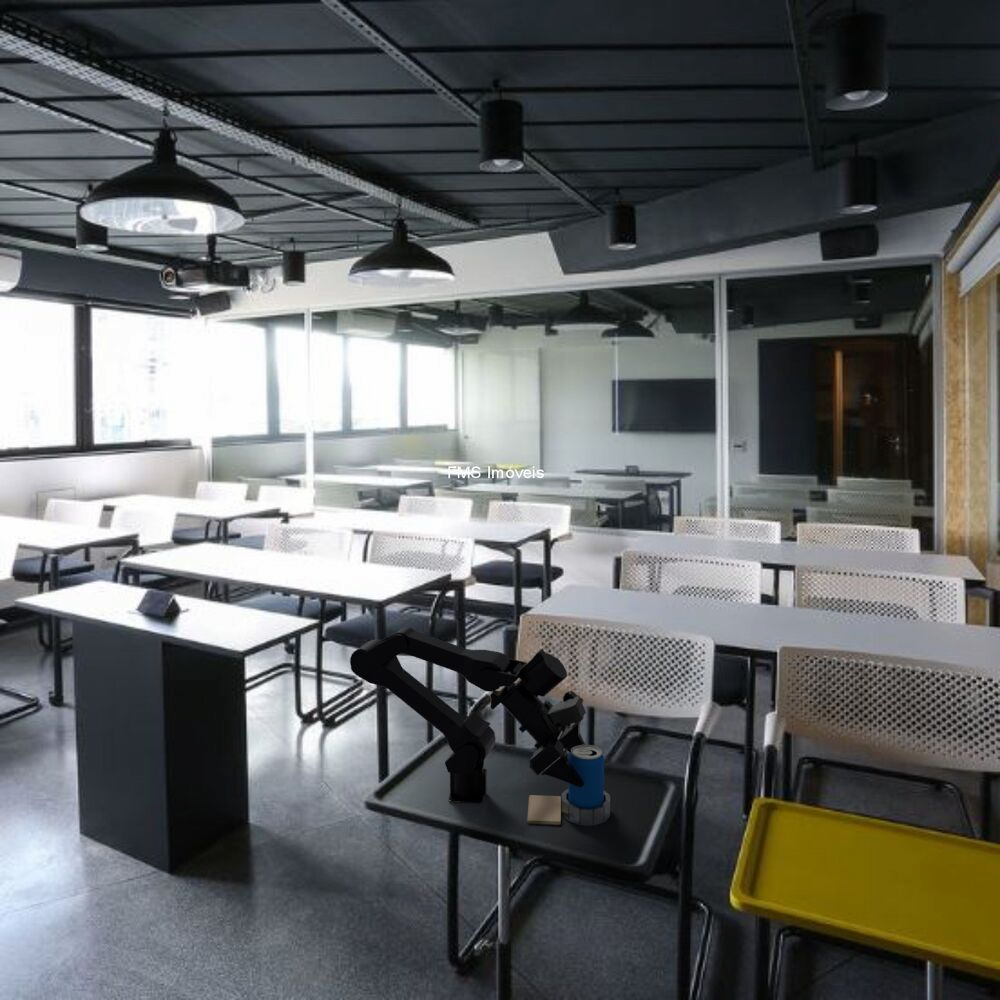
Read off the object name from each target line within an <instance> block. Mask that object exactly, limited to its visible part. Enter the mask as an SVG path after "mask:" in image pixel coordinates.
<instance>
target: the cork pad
mask: <svg viewBox="0 0 1000 1000" xmlns="http://www.w3.org/2000/svg"><path fill="white" fill-rule="evenodd" d="M527 808H528V809H527V819H526V822H527V823H526V824H530V825H531V824H535V825H559V826H560V825H562V823H561V821H562V795H561V796H560V795H535V794H534V795H531V794H530V795H529V796H528V807H527Z"/></svg>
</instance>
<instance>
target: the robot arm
mask: <svg viewBox="0 0 1000 1000" xmlns="http://www.w3.org/2000/svg"><path fill="white" fill-rule="evenodd" d="M400 654H405V655H408V656H411V657H413V658H416V659H419V660H422V661H424V662H427V663H430V664H433V665H436V666H439V667H440V668H441V667H442V668H444V669H447V670H450V671H453V672H455V673H458V674H460V675H461V676H462V677H464V679H465V680H466V681H467V682H468V683H470V684H471V685H473V686H475V687H477V688H479V689H480V690H482V691H484V692H489V693H490V692H491V693H490V705H489V706H490V709H491V710H495V708H497V707H498V706H499V705H500V704H501V705H502V706H503V707H504V709H506V710H507V712H508V713H510V715H511V716H512V717H513V718H514V719H515V720H516V721H517V723H518V724H520V726H519V728H518V730H519V731H520V732H521V733H522V734H523V733H524V732H525V731H526V732H527V733H528V734H529V736H530V737H532V739H533V740H534V741H535V744H534V747H535V748H536V750H535V751H534V752H533V754H532V756H531V758H530V760H529V769H530V770H532V772H533V773H534V774H535V775H536V776H539V775H541V776H549V777H552V778H555V779H558V780H559V781H563V782H566V783H567V784H568V783H570V784H572V785H575V786H577V787H580V788H581V787H582V786H583V785H584V784H585V783H584V781H583V780H582V778H581V777H580V775H579V774H578V773H577V771H576V770H575V769H574V767H573V766H572V765H571V763H570V762H569V756H568V752H569V754H570V753H571V749H572V748H573V747H575V746H578V745H586V743H585V741H584V738H583V737H582V735H581V723H582V722H583V720H584V716H585V715H586V713H587V711H586V709H585V706H584V704H583V703H584V699H583V698H582V697H581V696H580V695H579V694H577V693H575V692H574V691H573V690H568V691H566V692H564V694H563V695H562V700H561V701H559V702H558V703H557V704H554V705H553V704H552V703H551V702H550V701H548V700H545V701H544V702H543V701H542V700H541V699H540V698H539V696H540V697H546V696H547V695H548V694H549V693H550V692H551V691H553V690H554V689H555V688H556V687H557V686H558V685H560V684H561V683H562V682H563V681H564V680H566V678H567V677H568V672H567V670H566V667H565V666H564V664H563V663H562V661H561V660H560V659H559V658H558V657H555V656H554V655H552V654H550V653H547V652H545V651H544V649H543V648H541V649H539V650H538V651H537V652H536V653H535V655H533V657H532V658H531V659H530V660H529V661H523V660H519V659H515V658H510V657H509V656H507V655H506V654H504V653H502V652H500V651H496V650H495V651H494V650H490V649H470V648H466V647H462V646H460V645H457V644H454V643H451V642H448V641H444V640H443V639H440V638H437V637H433V636H431V635H428V634H425V633H422V632H419V631H417V630H415V629H413V628H412V627H408V626H405V627H402V628H401V629H399V630H398V631H396V632H395V633H393V634H391V635H390V634H389V635H388V636H386V637H385V638H383V639H379V638H378V639H370V640H369V641H367V642H365V644H363V645H361V646H360V647H359V648H357V649H356V650H354V651H353V652H352V653H351V656H350V658H349V663H350V670H351V672H352V673H353V675H355V676H357V677H359V678H360V679H362V680H364V681H366V682H367V683H368V684H372V685H375V686H378V687H383V688H386V689H387V690H389V692H391V693H392V694H393V695H395V696H396V697H397V698H398V699H400V700H401V701H402V702H403V703H404V704H406V705H407V706H408V707H410V709H412V710H413V711H414V712H415V713H417V715H419V716H421V717H422V718H423V719H424V720H425V721H426V722H427V723H429V724H430V725H431V726H433V727H434V728H435V729H436V730H438V731H439V732H440V733H441V734H442V735H443V736H444V738H445V740H446V742H447V744H448V746H449V748H450V750H451V751H452V753H451V754H450V755H449V757H447V759H446V760H445V762H444V765H445V767H446V770H447V772H448V773H449V791H450V792H449V795H448V801H449V800H451V801H460V802H459V803H472V804H473V803H475V804H480V803H483V802H484V801H483V800H484V796H486V794H487V791H488V770H487V768H485V759H486V758H487V757H488V755H489V754H490V752H491V751H492V750H493V748H494V746H495V744H496V739H497V738H496V733H495V731H494V729H493V728H492V727H491V726H490V725H491V722H489V721H486V720H485V719H483V718H482V717H481V716H480V714H478V713H477V712H475V711H472V712H471V713H470V714H469V715H465V714H461V713H459V712H458V711H456V710H455V708H453V707H452V706H450V705H449V704H448V703H447V702H445V701H444V700H443V699H441V698H440V697H439V696H438V695H437V694H435V693H434V692H433V691H432V690H430V689H429V688H428V687H426V685H424V684H423V683H422V682H420V681H419V680H418V679H417V678H415V677H414V676H413V675H412V674H411V673H410V672H408V671H407V670H405V669H404V668H403V667H402V664H401V662H400V660H399V658H398V655H400ZM518 679H519V680H518ZM517 680H518V681H517ZM500 688H501V689H500ZM499 689H500V690H499Z"/></svg>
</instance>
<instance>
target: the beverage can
mask: <svg viewBox="0 0 1000 1000" xmlns="http://www.w3.org/2000/svg"><path fill="white" fill-rule="evenodd" d="M568 761H569V762H570V763H571V765H572V766H573V767H574V769H575V770H576V771H577V773H578V774H579V775H580V777H581V778H582V780H583V781H584V783H585V784H584V785H583V786H582V787H581V788H580V787H577V786H575V785H572V784H570V783H567V784H568V788H567V789H568V801H569V802H570V803H571V804H573V805H576V806H579V807H588V808H592V807H596V806H600V805H602V804H603V803H604V791H605V756H604V755H603V750H602V748H599V747H598V746H596V745H593V744H585V745H578V746H575V747H573V748H572V749H571V753H570V752H569V755H568Z"/></svg>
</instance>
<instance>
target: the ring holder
mask: <svg viewBox="0 0 1000 1000" xmlns="http://www.w3.org/2000/svg"><path fill="white" fill-rule="evenodd" d="M561 817H563V818H565V820H566V821H568V822H570V823H573V824H576V825H578V826H590V827H591V826H597V825H601V824H604V823H605V822H606V821H607V820H608V819H610V817H611V796H610V794H609V793H608V792H607V791H606V790H604V803H603V804H602V805H600V806H596V807H592V808H588V807H579V806H576V805H573V804H571V803H570V802H569V801H568V788H567V789H565V790H564V791H563V792H561Z"/></svg>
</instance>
